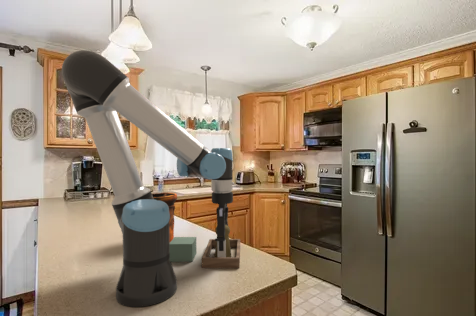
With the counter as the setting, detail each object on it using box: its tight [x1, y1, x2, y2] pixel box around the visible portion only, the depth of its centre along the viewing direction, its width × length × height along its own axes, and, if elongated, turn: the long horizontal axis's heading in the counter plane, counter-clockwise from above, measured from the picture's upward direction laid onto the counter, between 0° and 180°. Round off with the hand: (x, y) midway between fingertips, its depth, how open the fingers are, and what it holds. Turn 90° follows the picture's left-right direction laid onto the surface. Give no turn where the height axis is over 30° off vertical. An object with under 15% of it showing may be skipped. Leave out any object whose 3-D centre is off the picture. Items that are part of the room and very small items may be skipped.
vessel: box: [151, 191, 178, 242], centre depth 113 cm, size 14×14×20 cm
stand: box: [170, 236, 197, 263], centre depth 95 cm, size 8×8×6 cm
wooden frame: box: [201, 238, 241, 269], centre depth 95 cm, size 20×12×3 cm, turn 179°
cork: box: [214, 224, 232, 257], centre depth 95 cm, size 6×6×11 cm
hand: (223, 253), depth 95 cm, fingers open, 11 cm apart
